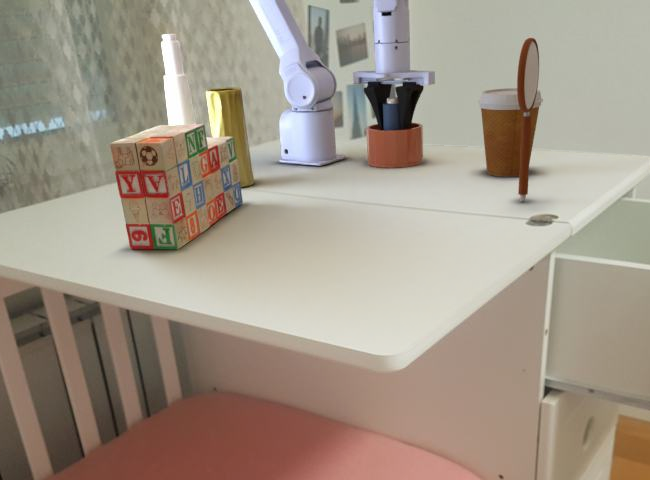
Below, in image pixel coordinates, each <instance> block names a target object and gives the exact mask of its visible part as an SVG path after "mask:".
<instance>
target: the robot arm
mask: <svg viewBox="0 0 650 480" xmlns="http://www.w3.org/2000/svg"><path fill="white" fill-rule="evenodd" d="M372 1H373V3H372V5H373V12H372V17H373V41H374V42H373V43H374V44H373V45H374V46H373V47H374V70H357V71H353V72H352V78H353V81H352V82H353V85H366V86H365V87H363V93H364V95H365V96H366V98H367V100H368V102H369V103H370V106H371V107H372V110H373V113H374V116H375V119H376V124H378V127H379V130H384V127H383V103H386V102H387V98H390V97H391V91H392V87H393V85H399V86H394V88H395V93H396V94H395V95H396V97H397V98H398V103H399V109H400V128H401V130H405V129H411V123H412V122H413V117H414V115H415V114H414V113H415V111H416V107H417V104H418V102H419V99H420V97H421V95H422V93H423V91H424V87H425V86H431V85H435V84H436V71H435V70H415V69H414V70H413V69H411V42H410V40H411V39H410V38H411V34H410V33H411V31H410V29H411V27H410V25H411V23H410V8H409V5H410V3H409V0H372ZM248 2H249V3H250V5H251V7H252V9H253V11H254V13H255V15H256V17H257V18H258V21H259V23H260V24H261V26H262V28H263V30H264V32H265V34H266V36H267V38H268V40H269V42H270V43H271V45H272V47H273V49H274V52H275V53H276V55H277V57H278V59H279V67H278V74H279V76H280V77H281V80H282V83H283V92H284V96H285V98H286V100H287V102H288V103H289V104H290V105H291V108H288V109H285V110H284V111H283V112H282V113H281V115H280V118H279V121H278V122H279V123H278V131H279V141H280V142H279V143H280V151H281V158H280V159H279V160H278V162H279V163H283V164H294V165H306V166H318V167H322V166H326V165H328V164H331V163H334V162H338V161H341V160H344V159H347V154H337V146H336V129H335V111H334V103H333V102H332V99H333V98H334V97H335V95H336V92H337V87H338V83H337V78H336V76H335V74H334V72H333V70H331V69H330V68H328V66H326V65H325V64H324V63H323V62H322V60H321V58H320V55H318V54H317V53H316V52H315V51H314V50H313V48H311V47H310V46H309V45H308V43H307V41H306V38H305V37H304V35H303V33H302V31H301V30H300V27H299V25H298V24H297V21H296V20H295V17H294V15H293V14H292V11H291V10H290V8H289V5H288V3H287V2H286V0H248ZM389 79H390V80H389ZM392 79H400V80H392Z"/></svg>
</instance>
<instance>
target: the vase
mask: <svg viewBox="0 0 650 480" xmlns="http://www.w3.org/2000/svg"><path fill="white" fill-rule="evenodd" d="M205 97H206V104H207V110H208V119H209V127H210V133H211V137H234V142H235V151H236V159H237V160H238V167H239V175H240V184H241V189H242V188H246V187H249V186H252V185H254V184H255V183H256V181H255V178H254V172H253V165H252V158H251V151H250V144H249V137H248V136H249V135H248V130H247V123H246V115H245V108H244V97H243V91H242V88H241V87H239V86H228V87H215V88H208V89H206V90H205Z"/></svg>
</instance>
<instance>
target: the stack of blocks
mask: <svg viewBox="0 0 650 480" xmlns="http://www.w3.org/2000/svg"><path fill="white" fill-rule="evenodd" d="M206 131H207V130H206V126H205V123H196V124H190V125H169V124H160V125H156V126H153V127H151V128H148V129H145V130H142V131H140V132H138V133H135V134H133V135H129V136H127V137H125V138H121V139H118V140H114V141H112V142H110V143H109V146H110V150H111V151H110V152H111V155H112V160H113V161H112V162H113V165H114V169H115V171H114V173H115V179H116V184H117V190H118V194H119V195H118V196H119V197H120V201H121V206H122V212H123V216H124V222H125V228H126V234H127V237H128V244H129V248H130V249H131V250H180V249H181V248H183V246H185V245H187V244H188V243H189V242H191V241H192V240H194V239H195V238H197V237H198V236H199V235H201V234H202V233H203V232H205V231H206V230H208V229H210V227H211V226H212V225H213V224H215V223H216V222H218V221H219V220H220V219H222V218H223V217H224V216H225V215H226V214H228V213H230V212H232V211H233V210H234V209H236V208H238V206H240V205H241V204H243V201H244V200H243V194H242V188H241V184H240V175H239V167H238V160H237V159H236V151H235V142H234V137H212V136H210V137H208V136H207V132H206Z"/></svg>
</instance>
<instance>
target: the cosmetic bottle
mask: <svg viewBox="0 0 650 480" xmlns="http://www.w3.org/2000/svg"><path fill="white" fill-rule="evenodd" d="M177 37H178V36H177V34H176V33H165V34H164V33H163V34H162V35H161V38H162V41H161V42H160V44H161V45H160V46H161V51H162V57H163V63H164V71H165V75H163V83H164V93H165V102H166V103H165V104H166V112H167V120H168V125H190V124H197V119H196V115H195V109H194V104H193V97H192V93H191V88H190V82H189V78H188V74H187V73H185V71H184V63H183V56H182V49H181V43H180V41H179V40H178V39H177Z"/></svg>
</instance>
